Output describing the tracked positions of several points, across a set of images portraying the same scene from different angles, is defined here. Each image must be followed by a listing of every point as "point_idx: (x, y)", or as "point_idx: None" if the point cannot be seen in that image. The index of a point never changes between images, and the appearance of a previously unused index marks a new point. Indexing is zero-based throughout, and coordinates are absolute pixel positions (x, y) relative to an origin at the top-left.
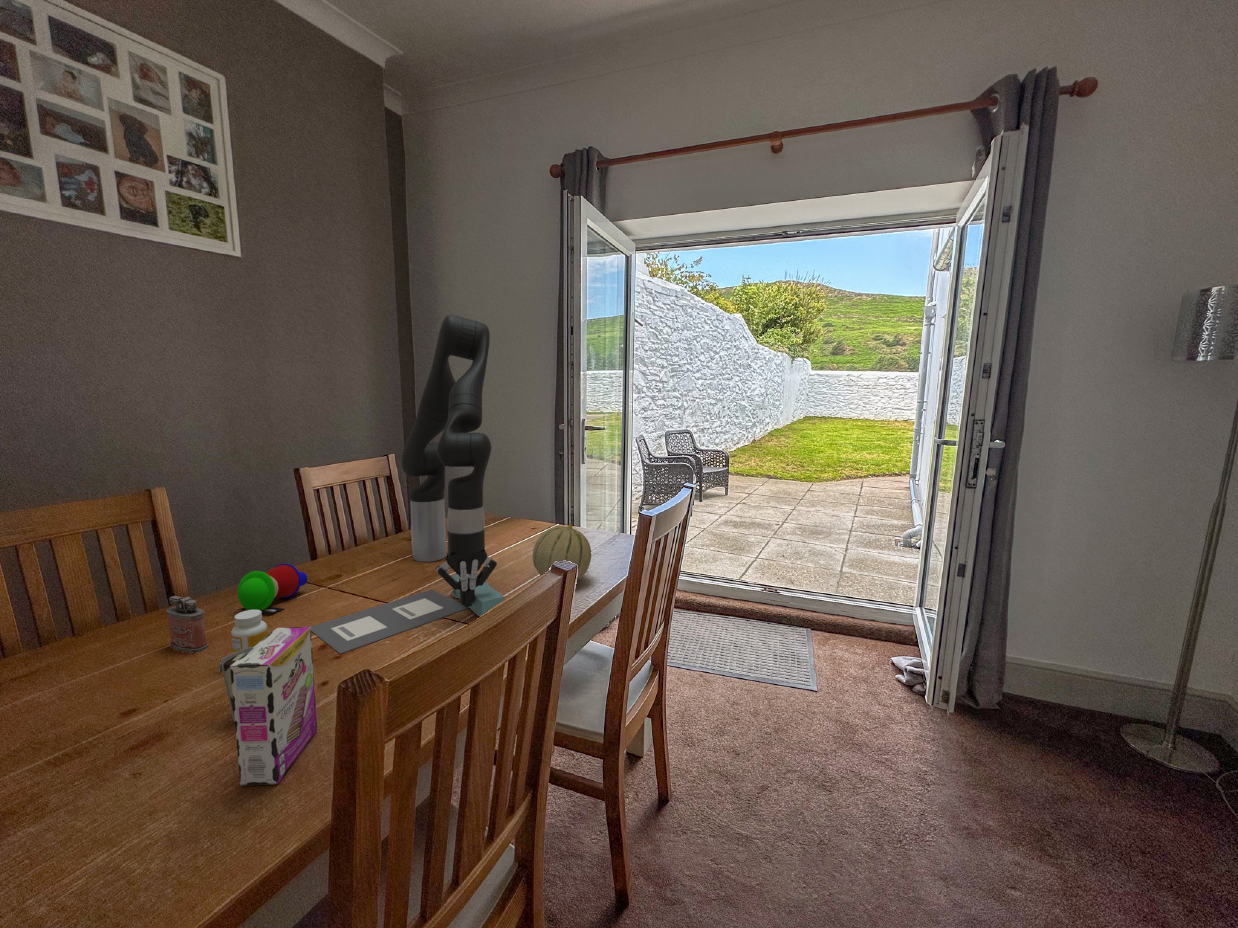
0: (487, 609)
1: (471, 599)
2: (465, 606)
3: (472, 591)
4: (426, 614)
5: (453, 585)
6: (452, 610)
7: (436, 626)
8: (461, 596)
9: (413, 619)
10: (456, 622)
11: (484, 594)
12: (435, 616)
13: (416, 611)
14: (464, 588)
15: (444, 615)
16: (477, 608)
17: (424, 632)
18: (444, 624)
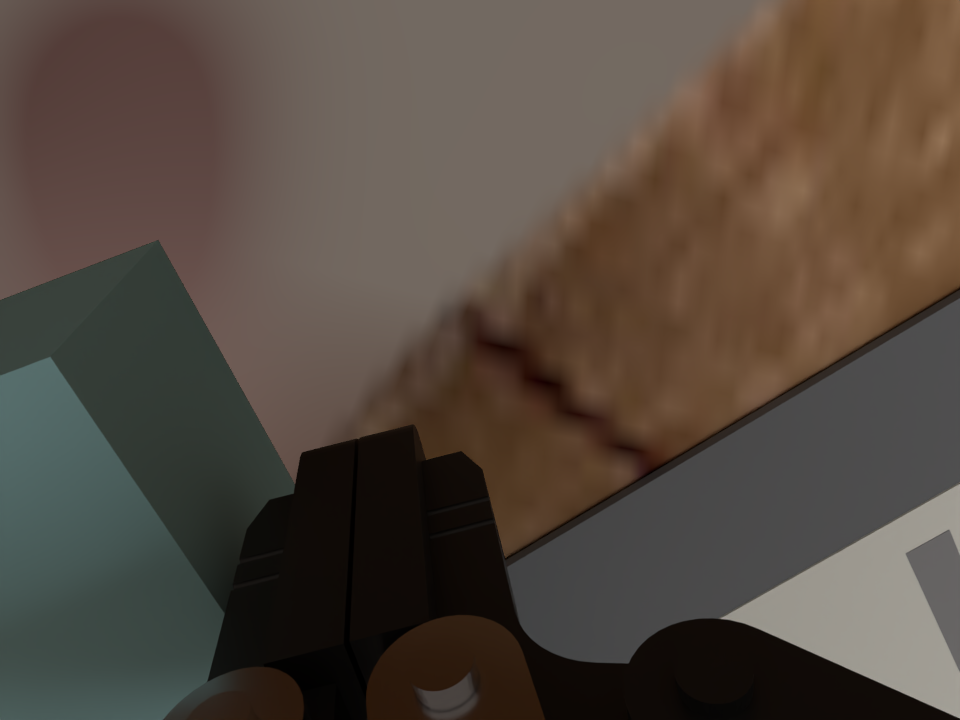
0: (20, 323)
1: (299, 513)
2: (411, 425)
3: (258, 659)
4: (812, 552)
5: (818, 714)
6: (552, 600)
7: (751, 259)
8: (498, 546)
9: (951, 462)
10: (516, 317)
11: (61, 676)
12: (735, 493)
13: (887, 622)
14: (451, 664)
15: (643, 500)
16: (226, 443)
17: (904, 122)
18: (658, 293)
